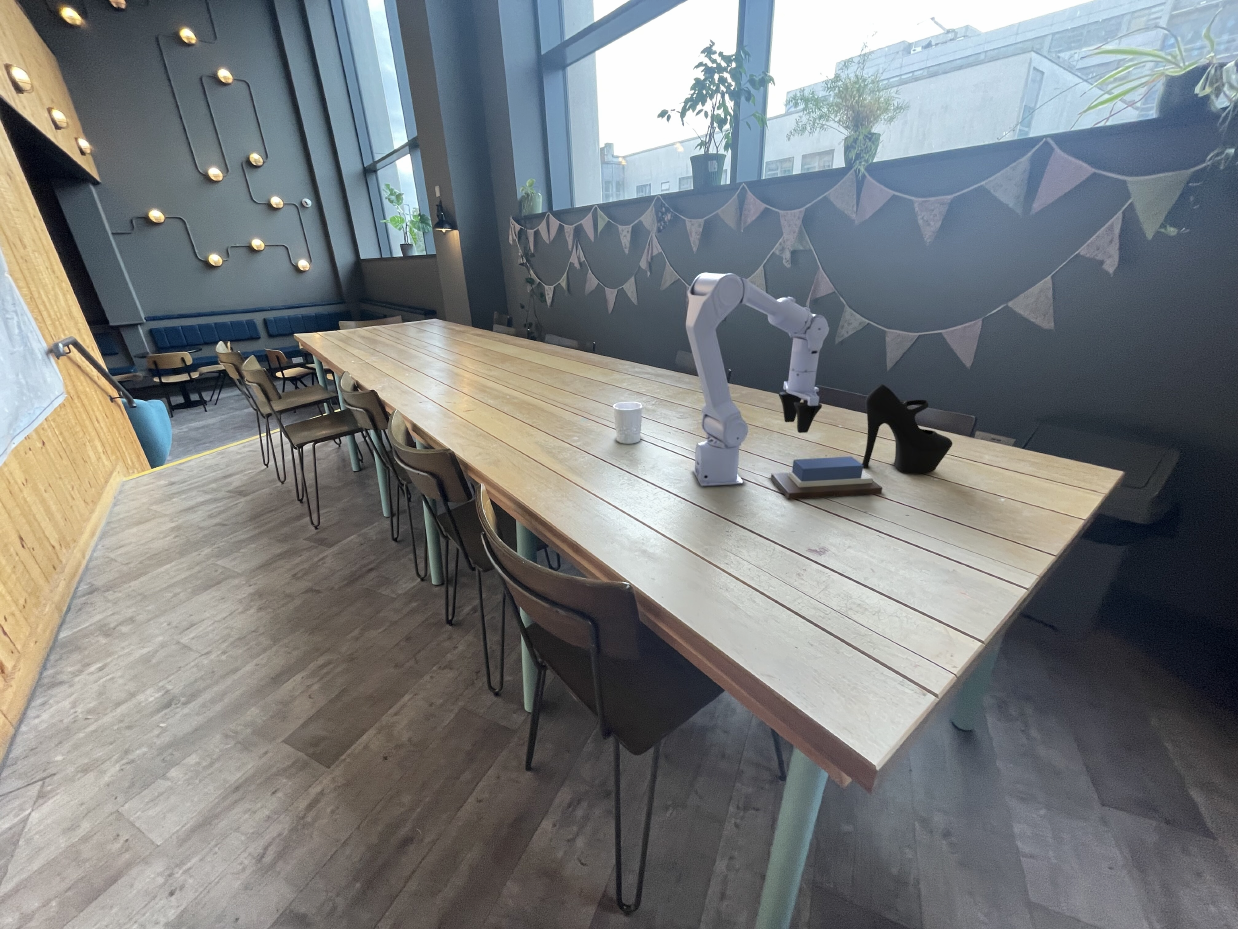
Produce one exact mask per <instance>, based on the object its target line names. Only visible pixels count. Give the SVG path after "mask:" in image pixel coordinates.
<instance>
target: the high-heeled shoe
mask: <svg viewBox="0 0 1238 929" xmlns="http://www.w3.org/2000/svg"><path fill="white" fill-rule="evenodd" d="M910 406H917V407H915V408H908V407H910ZM928 407H929V400H926V399H914V400H908V399H907V400H905V401H901V399H899V398H898V396H897V395H896V394H895V393H894V392H893V391H892V390H891V389H890V388H889V387H888V386H887V385H885V384H884V383H881V384H880V385H878V386H876V387H875V388H874V389H873V390H872V391H870V392H869V394H868V395H867V397H866V399H865V409H866V420H867V436H866V437H867V438H866V446H865V452H864V456H863V460H862V463H861V464H862V465H863V468H866V469H867V468H869V466H870V461H871V458H872V454H873V451H874V447H875V444H876V442H877V441H876V440H877V437H878V433H879V430H880V427H881V426H883V425H884V424H886V425H887V426H888V427H889V428H890V430H891V432H892V435H893V437H894V440H895V441H894V442H895V452H894V453H895V456H894V462H893V465H894V467H895V469H896V470H898V471H899V472H901V473H904V474H910V475H927V474H931V473H932V472H935V470H936V469H937V467H938V466H939V465H940V463H941V462H942V460H943V459H944V457H946V455H947V453H948V452H949V451H950V449H951V448H952V447H953V441H952V439H951V438H949V437H947V436H945V435H942V434H940V433H938V432H936V431H935V430H931V429H925V428H924V429H923V428H920V427H919V425H918V423H917V421H916V415H917V414H919V413H921V412H923V411H924V410H926V409H928Z"/></svg>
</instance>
